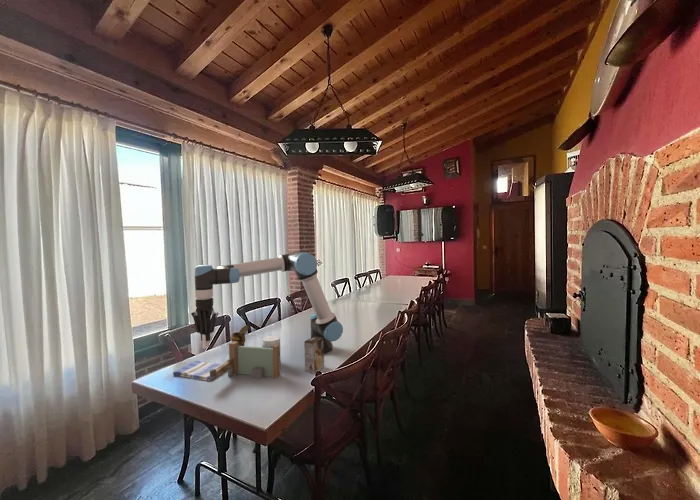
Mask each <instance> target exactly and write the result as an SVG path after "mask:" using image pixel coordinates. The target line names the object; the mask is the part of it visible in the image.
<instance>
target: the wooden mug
mask: <svg viewBox="0 0 700 500" xmlns="http://www.w3.org/2000/svg"><path fill="white" fill-rule="evenodd" d="M249 328H250V326H249V325H248V324H246V325H244V326H243V327H242V328H240V330H239V332H238V331H237V332H233V333H232V334H231V337H230V339H231V342H232V341H236V342H238V346H246V345H245V343H246V335H245V334H246V333H247V331H248V330H249ZM231 342H230V343H231Z"/></svg>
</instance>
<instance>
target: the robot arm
mask: <svg viewBox="0 0 700 500" xmlns="http://www.w3.org/2000/svg"><path fill="white" fill-rule="evenodd" d="M317 267H318V261H317V259H316V257H315V256H314V255H312V254H311V253H309V252H304V251H303V252H302V251H294V252H290V253H286V254H281V255H280V254H279V256H278V257H272V258H271V257H270V258H267V259H259V260H258V259H257V260H253V261H246V262H241V263H240V262H239V263H234V264H227V265H224V264H222V265H218V266H217V267H216V268H213V265H212V264H200V265H196V266H195V268H194V287H195V288H194V289H195V290H194V295H195V297H194V298H195V308H196V309H195V311H193V312H191V314H190V315H191V316H192V318H193V322H194V326H195V331H196V333H198V334H200V341H202V342H201V343H202V347H201V348H202V349H205V350H206V349H207V348H210V340H211V334H213V333H214V332H215V328H216V322H217V317H218V316H219V312H216V311H215V309H214V298H213V297H214V285H224V284H225V285H227V284H237V283H239V282H240V278H244V277H250V276H256V275H262V274H268V273H273V272H280V271H281V272H294V273H295V275H296V278H297V280H298V281H300V282H301V283H302V285H303V288H304V290H305V292H306V295H307V297H308V299H309V300H308V301H310V304H311V306H312V309H313V311H314V313H311V314H310V338H312V337H314V336H315V337H321V338H324V355H325V354H328V353H331V352H332V351H333V349H334V348H333V347H334V346H333V345H334V344H333V342H336V341H338V340H339V339H340V338H341V337H342V335H343V332H344V327H343V324H342V323H341V322H340V321H338V318H337V317H336V314H335V312H332V311H331V308H330V305H329V304H328V301H327V298H326V296H325V293H324V290H323V289H322V286H321V283H320V281H319V279H318V273H319V271H318V268H317Z"/></svg>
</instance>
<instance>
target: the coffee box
mask: <svg viewBox="0 0 700 500" xmlns="http://www.w3.org/2000/svg"><path fill="white" fill-rule="evenodd" d="M303 346H304V371H305V372H308V373H312V374H316V373H317V372H319V371H320V370H322V369H323V368H325V354H324V338H321V337H315V336H314V337H312V338H311V337H310V338H308V339H306V340H305V341H304V345H303ZM318 370H319V371H318Z"/></svg>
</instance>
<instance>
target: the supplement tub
mask: <svg viewBox="0 0 700 500" xmlns="http://www.w3.org/2000/svg"><path fill="white" fill-rule="evenodd" d="M261 343H262V346H261V347H263V348H273V346H274V345H275V344H280V345H281V338H280V336H278V335H268V336H264V338H262V341H261Z"/></svg>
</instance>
